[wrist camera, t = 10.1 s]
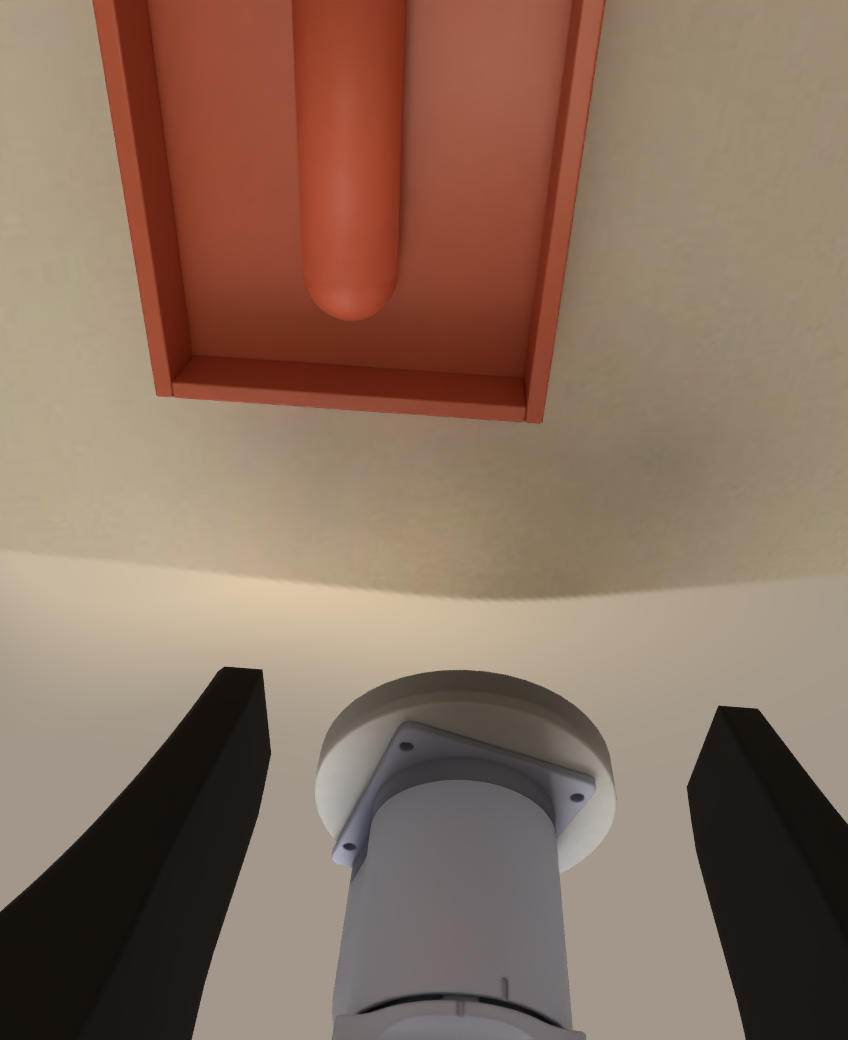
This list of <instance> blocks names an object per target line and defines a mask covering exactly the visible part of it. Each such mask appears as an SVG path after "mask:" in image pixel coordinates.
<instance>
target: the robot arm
mask: <svg viewBox="0 0 848 1040" xmlns="http://www.w3.org/2000/svg"><path fill="white" fill-rule="evenodd" d="M406 742H410V743H406ZM270 756H271V749H270V738H269V729H268V719H267V709H266V700H265V690H264V680H263V672H262V670H261V669H247V668H235V667H223V668H222V669H221V670H219V671H218V672H217V674H216V675H215V677H214V678H213V680H212V681H211V682H210V684H209V685H208V687H207V688H206V689H205V691H204V692H203V693H202V695H201V696H200V698H199V699H198V700H197V702H196V703H195V704H194V706H193V707H192V708H191V710H190V711H189V712H188V713H187V715H186V716H185V717H184V719H183V720H182V721H181V722H180V724H179V725H178V726H177V728H176V729H175V730H174V731H173V733H172V734H171V735H170V737H169V738H168V739H167V740H166V742H165V743H164V744H163V745H162V746H161V748H160V749H159V750H158V751H157V752H156V753H155V755H154V756H153V757H152V758H151V759H150V761H149V762H148V763H147V764H146V765H145V767H144V768H143V769H142V770H141V771H140V773H139V774H138V775H137V776H136V777H135V778H134V780H133V781H132V782H131V783H130V784H129V785H128V786H127V787H126V789H125V790H124V791H123V792H122V793H121V794H120V795H119V796H118V797H117V798H116V799H115V801H114V802H113V803H112V804H111V805H110V806H109V807H108V808H107V809H106V810H105V811H104V812H103V814H102V815H101V816H100V817H99V818H98V819H97V820H96V821H95V822H94V823H93V825H92V826H90V828H89V829H88V830H87V831H86V832H85V833H84V834H83V835H82V836H81V837H80V838H79V839H78V840H77V841H76V842H75V843H74V844H73V845H72V846H71V847H70V848H69V849H68V850H67V851H66V852H65V853H64V854H63V855H62V856H61V857H60V858H59V859H58V860H57V861H55V862H54V863H53V864H52V865H51V866H50V867H49V868H48V869H47V870H46V871H45V872H44V873H43V874H42V875H41V876H40V877H39V878H38V879H37V880H35V881H34V882H33V883H32V884H31V885H30V886H29V887H28V888H27V889H26V890H24V891H23V892H22V893H21V894H20V895H19V896H18V897H17V898H15V899H14V900H13V901H12V902H11V903H10V904H9V905H7V906H6V907H5V908H4V909H3V910H2V911H1V912H0V1040H192V1035H193V1031H194V1027H195V1022H196V1018H197V1013H198V1009H199V1005H200V1001H201V997H202V992H203V988H204V984H205V981H206V977H207V974H208V970H209V967H210V963H211V960H212V956H213V952H214V950H215V947H216V944H217V940H218V937H219V934H220V931H221V928H222V925H223V922H224V919H225V916H226V913H227V910H228V907H229V903H230V901H231V898H232V894H233V892H234V889H235V886H236V882H237V879H238V876H239V873H240V870H241V867H242V864H243V861H244V858H245V855H246V852H247V849H248V845H249V842H250V839H251V836H252V833H253V830H254V827H255V824H256V820H257V817H258V814H259V809H260V804H261V800H262V795H263V791H264V786H265V781H266V775H267V771H268V765H269V761H270ZM595 792H596V783H595V779H594V778H593V777H592V776H589V775H587V774H584V773H581V772H577V771H574V770H571V769H567V768H564V767H561V766H558V765H554V764H551V763H548V762H545V761H541V760H538V759H535V758H531V757H528V756H525V755H522V754H518V753H515V752H512V751H508V750H505V749H502V748H499V747H495V746H492V745H489V744H486V743H482V742H479V741H476V740H472V739H469V738H466V737H463V736H459V735H456V734H453V733H450V732H446V731H443V730H440V729H436V728H433V727H430V726H427V725H423V724H420V723H417V722H405V723H403V724H401V726H400V727H399V728H398V730H397V732H396V734H395V735H394V737H393V739H392V741H391V743H390V745H389V746H388V748H387V750H386V752H385V754H384V756H383V757H382V759H381V761H380V763H379V765H378V767H377V768H376V770H375V772H374V774H373V776H372V778H371V779H370V781H369V783H368V785H367V787H366V789H365V790H364V792H363V794H362V796H361V798H360V800H359V801H358V803H357V805H356V807H355V809H354V811H353V812H352V814H351V816H350V818H349V820H348V822H347V823H346V825H345V827H344V829H343V831H342V833H341V834H340V836H339V838H338V840H337V842H336V844H335V846H334V847H333V851H332V856H331V858H332V860H333V861H334V862H335V863H337V864H339V865H343V866H346V867H350V868H352V873H351V879H350V886H349V893H348V900H347V907H346V913H345V920H344V926H343V934H342V940H341V946H340V953H339V960H338V966H337V973H336V980H335V987H334V994H333V1006H332V1020H333V1036H332V1040H586V1035H585V1033H583V1032H582V1031H574V1030H573V1026H572V1015H571V1003H570V993H569V980H568V970H567V959H566V958H567V957H566V947H565V934H564V923H563V912H562V901H561V888H560V877H559V866H558V854H557V843H556V839H557V838H558V837H559V835H560V834H561V833H562V832H563V831H564V829H565V828H566V827H567V826H568V824H569V823H570V822H571V821H572V820H573V818H574V817H575V816H576V815H577V814H578V812H579V811H580V810H581V809H582V808H583V806H584V805H585V804H586V803H587V802H588V800H589V799H590V798H591V797H592V796H593V794H594V793H595ZM687 792H688V800H689V807H690V814H691V822H692V828H693V834H694V841H695V847H696V852H697V856H698V860H699V864H700V868H701V872H702V875H703V879H704V883H705V886H706V890H707V894H708V898H709V901H710V905H711V909H712V912H713V916H714V919H715V923H716V927H717V930H718V934H719V937H720V941H721V945H722V948H723V952H724V956H725V959H726V963H727V966H728V970H729V974H730V977H731V981H732V985H733V988H734V992H735V996H736V999H737V1003H738V1007H739V1011H740V1016H741V1020H742V1024H743V1028H744V1033H745V1038H746V1040H848V824H847V823H846V822H845V820H844V819H843V818H842V817H841V815H840V814H839V813H838V812H837V811H836V809H834V807H833V806H832V804H831V803H830V802H829V801H828V799H827V798H826V797H825V796H824V794H823V793H822V792H821V790H820V789H819V788H818V787H817V785H816V784H815V783H814V782H813V780H812V779H811V778H810V776H809V775H808V774H807V772H806V771H805V770H804V769H803V767H802V766H801V765H800V763H799V762H798V761H797V759H796V758H795V757H794V755H793V754H792V753H791V751H790V750H789V749H788V748H787V746H786V745H785V743H784V742H783V741H782V740H781V738H780V737H779V736H778V734H777V733H776V732H775V730H774V729H773V728H772V727H771V725H770V724H769V723H768V721H767V720H766V719H765V717H764V716H763V715H762V714H761V712H760V711H759V710H758V709H754V708H741V707H729V706H718V708H717V711H716V713H715V716H714V718H713V721H712V724H711V726H710V729H709V731H708V734H707V736H706V739H705V742H704V744H703V747H702V749H701V752H700V754H699V757H698V760H697V763H696V765H695V767H694V770H693V773H692V775H691V778H690V780H689V783H688V785H687Z"/></svg>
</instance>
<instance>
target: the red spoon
mask: <svg viewBox="0 0 848 1040" xmlns="http://www.w3.org/2000/svg"><path fill="white" fill-rule="evenodd" d="M291 1H292V25H293V50H294V74H295V99H296V123H297V148H298V172H299V197H300V221H301V245H302V270H303V271H302V272H303V279H304V283H305V286H306V289H307V292H308V294H309V295H310V297H311V299H312V300H313V302H314V303H315V304H316V305H317V306H318V307H319V308H320V309H321V310H322V311H324V312H325V313H327V314H328V315H330V316H332V317H335V318H338V319H341V320H346V321H357V320H362V319H365V318H368V317H371V316H373V315H374V314H376V313H377V312H379V311H380V310H381V309H382V308H383V307H384V306H385V305H386V304H387V303H388V301H389V300H390V298H391V296H392V294H393V293H394V290H395V287H396V283H397V275H398V243H399V208H400V172H401V137H402V102H403V66H404V31H405V0H291Z"/></svg>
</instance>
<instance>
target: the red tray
mask: <svg viewBox="0 0 848 1040" xmlns="http://www.w3.org/2000/svg"><path fill="white" fill-rule="evenodd" d="M93 6H94V13H95V19H96V25H97V31H98V37H99V43H100V50H101V56H102V62H103V68H104V74H105V81H106V87H107V93H108V99H109V105H110V111H111V118H112V124H113V130H114V136H115V142H116V148H117V155H118V161H119V167H120V173H121V179H122V185H123V192H124V198H125V204H126V210H127V216H128V222H129V229H130V235H131V241H132V247H133V253H134V260H135V266H136V272H137V278H138V284H139V290H140V297H141V303H142V309H143V315H144V321H145V327H146V334H147V340H148V346H149V352H150V358H151V364H152V371H153V377H154V383H155V389H156V395H157V396H160V397H173V396H174V397H175V398H188V399H202V400H216V401H231V402H245V403H259V404H273V405H287V406H301V407H315V408H329V409H343V410H358V411H372V412H386V413H400V414H414V415H428V416H442V417H456V418H471V419H485V420H499V421H513V422H524V421H525V422H527V423H542V422H543V416H544V409H545V402H546V395H547V389H548V382H549V375H550V369H551V362H552V355H553V348H554V342H555V335H556V328H557V322H558V315H559V308H560V302H561V295H562V288H563V281H564V275H565V268H566V261H567V255H568V248H569V241H570V235H571V228H572V221H573V214H574V208H575V201H576V194H577V188H578V181H579V174H580V168H581V161H582V154H583V147H584V141H585V134H586V127H587V121H588V114H589V107H590V101H591V94H592V87H593V80H594V74H595V67H596V60H597V54H598V47H599V40H600V34H601V27H602V20H603V13H604V7H605V0H405V31H404V66H403V102H402V137H401V172H400V208H399V243H398V275H397V283H396V287H395V290H394V293H393V294H392V296H391V298H390V300H389V301H388V303H387V304H386V305H385V306H384V307H383V308H382V309H381V310H380V311H379V312H377V313H376V314H374V315H373V316H371V317H368V318H365V319H362V320H357V321H346V320H341V319H338V318H335V317H332V316H330V315H328V314H327V313H325V312H324V311H322V310H321V309H320V308H319V307H318V306H317V305H316V304H315V303H314V302H313V300H312V299H311V297H310V295H309V294H308V292H307V289H306V286H305V283H304V279H303V272H302V271H303V270H302V245H301V221H300V197H299V172H298V148H297V123H296V99H295V74H294V50H293V25H292V1H291V0H93Z"/></svg>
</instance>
